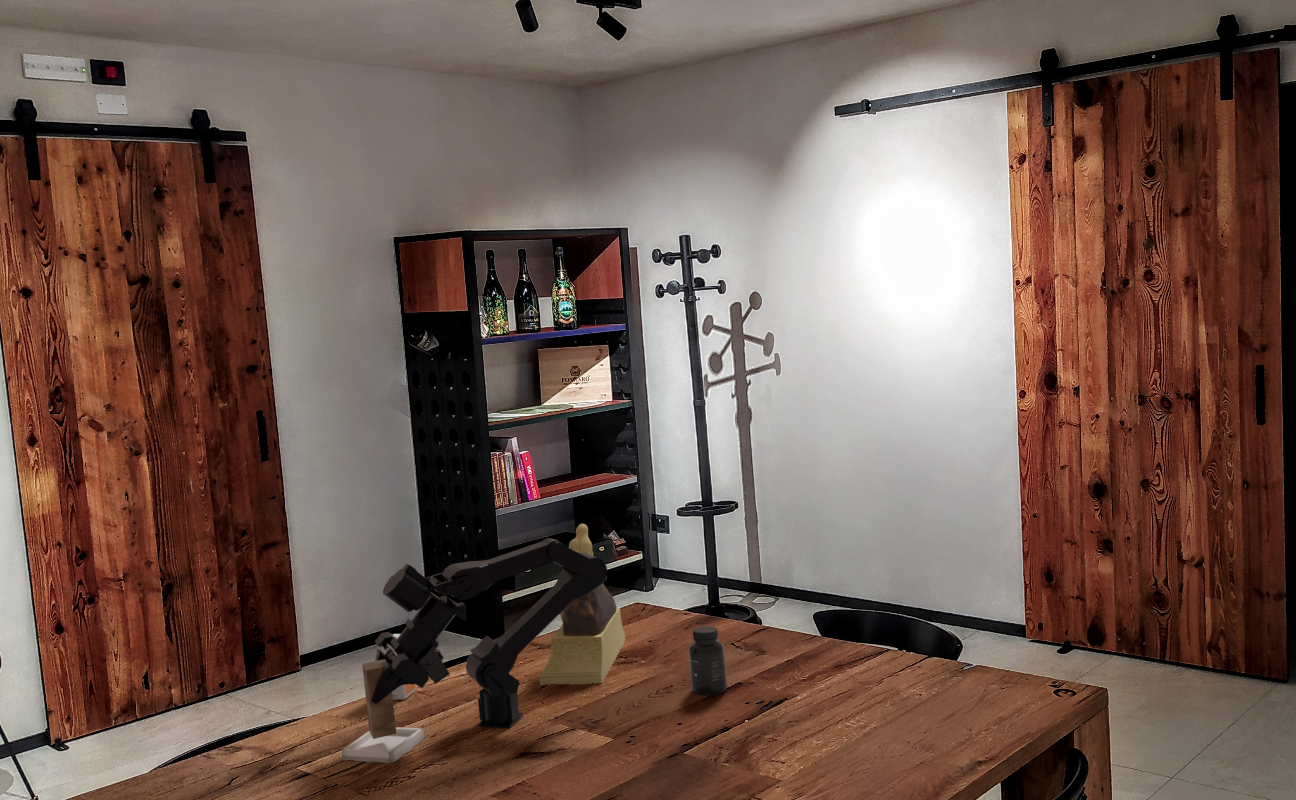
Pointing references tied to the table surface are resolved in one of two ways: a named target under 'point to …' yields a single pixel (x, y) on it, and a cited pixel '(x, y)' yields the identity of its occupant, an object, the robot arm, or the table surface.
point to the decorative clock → (585, 633)
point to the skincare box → (402, 687)
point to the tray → (383, 746)
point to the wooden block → (383, 711)
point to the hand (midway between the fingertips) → (371, 698)
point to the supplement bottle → (707, 662)
